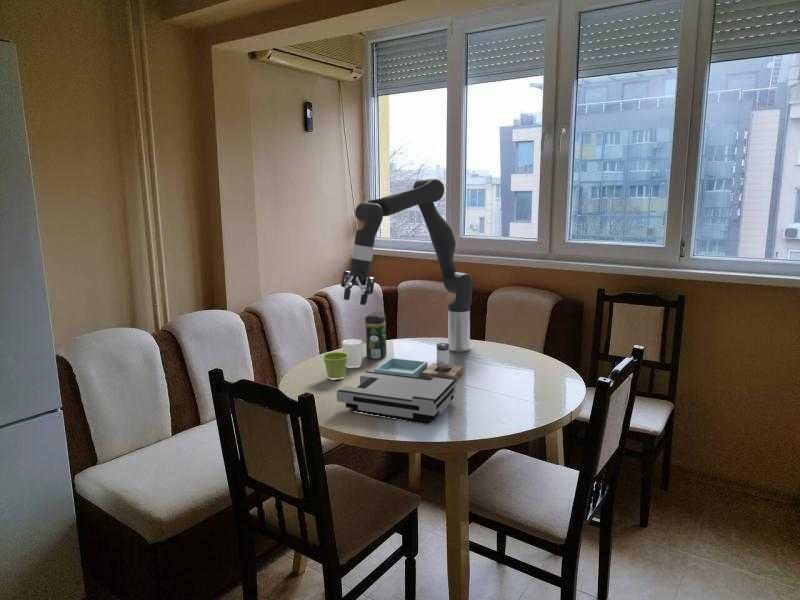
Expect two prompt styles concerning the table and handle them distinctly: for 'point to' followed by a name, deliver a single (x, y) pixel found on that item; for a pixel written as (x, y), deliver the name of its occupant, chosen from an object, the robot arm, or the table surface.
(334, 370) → the plant pot
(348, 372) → the table surface
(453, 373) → the brown square frame
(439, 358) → the bottle with dark cap
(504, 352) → the table surface
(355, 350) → the white cup
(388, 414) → the game console
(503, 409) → the table surface
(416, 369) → the parts tray
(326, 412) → the table surface
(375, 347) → the coffee jar
